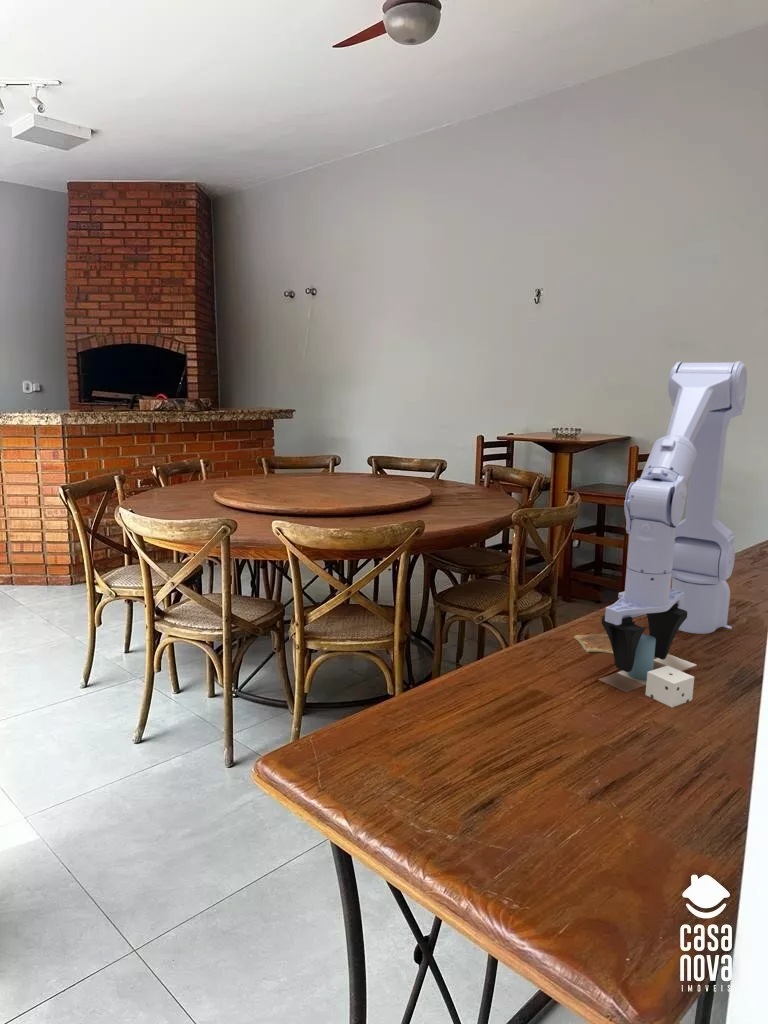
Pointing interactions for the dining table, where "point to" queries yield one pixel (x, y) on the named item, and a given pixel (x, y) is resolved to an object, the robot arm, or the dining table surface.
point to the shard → (595, 642)
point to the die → (669, 686)
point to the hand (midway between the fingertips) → (641, 663)
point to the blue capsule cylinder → (643, 657)
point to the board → (629, 683)
